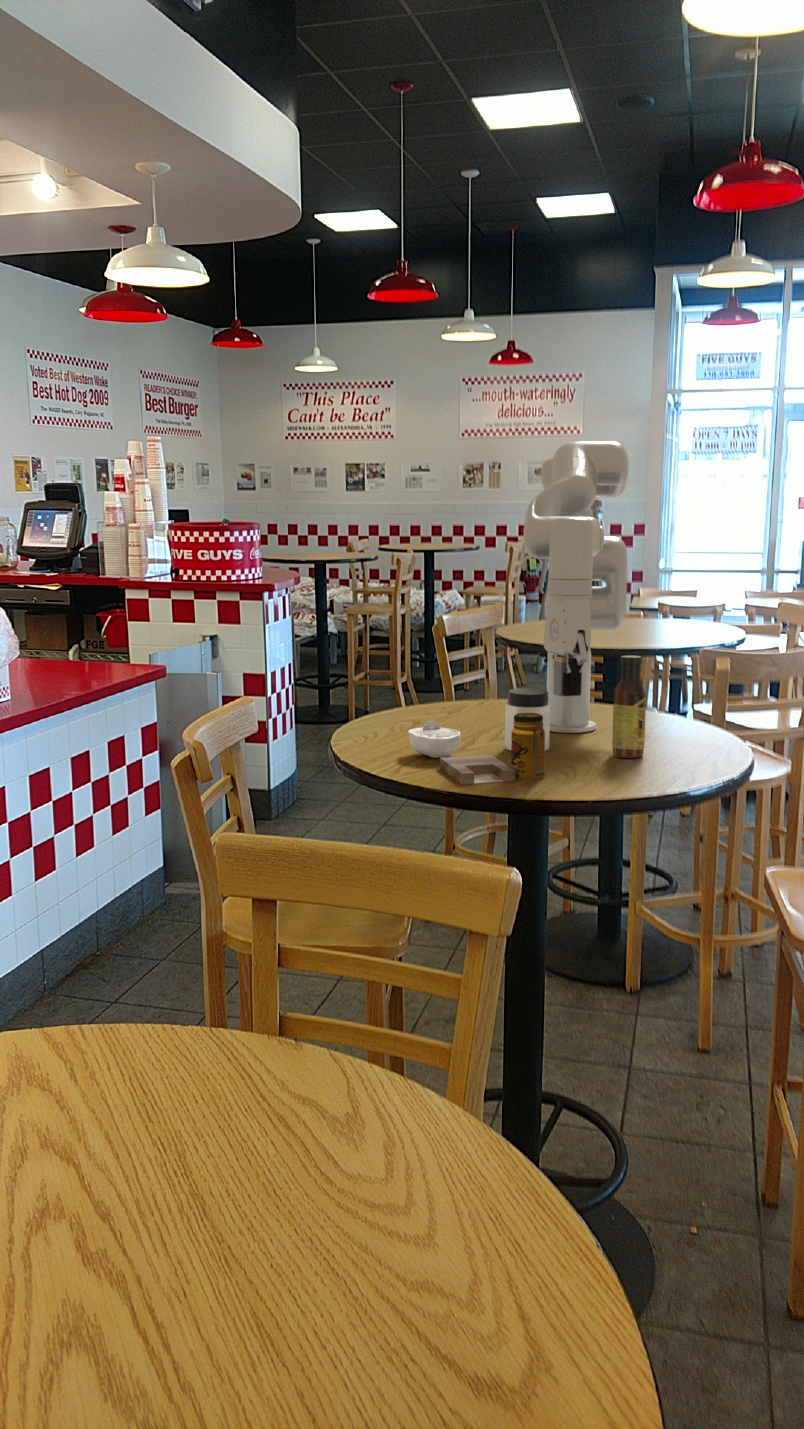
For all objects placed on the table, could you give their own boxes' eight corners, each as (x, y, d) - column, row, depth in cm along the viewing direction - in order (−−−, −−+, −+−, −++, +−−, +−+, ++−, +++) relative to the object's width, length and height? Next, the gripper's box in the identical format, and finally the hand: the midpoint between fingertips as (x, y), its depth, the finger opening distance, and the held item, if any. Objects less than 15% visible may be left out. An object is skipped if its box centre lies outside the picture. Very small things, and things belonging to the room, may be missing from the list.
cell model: (415, 764, 205) (415, 729, 203) (403, 751, 216) (403, 718, 215) (467, 762, 206) (467, 727, 205) (452, 749, 218) (452, 716, 217)
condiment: (501, 779, 194) (502, 715, 192) (526, 771, 201) (527, 708, 199) (535, 786, 190) (536, 719, 188) (560, 777, 196) (561, 713, 194)
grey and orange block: (553, 693, 190) (554, 655, 188) (573, 693, 191) (575, 655, 190) (560, 696, 187) (561, 657, 186) (581, 695, 188) (582, 657, 187)
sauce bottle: (644, 760, 208) (648, 659, 204) (611, 758, 209) (615, 658, 205) (643, 752, 214) (647, 654, 210) (611, 751, 215) (615, 653, 212)
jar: (556, 751, 215) (557, 693, 213) (521, 755, 212) (523, 696, 210) (531, 743, 223) (533, 686, 221) (498, 747, 220) (499, 689, 217)
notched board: (440, 768, 201) (440, 757, 201) (490, 764, 204) (490, 754, 204) (462, 784, 189) (462, 773, 189) (515, 780, 192) (515, 769, 191)
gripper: (531, 587, 192) (529, 688, 195) (570, 592, 177) (567, 701, 180) (569, 586, 194) (566, 686, 197) (611, 591, 179) (607, 699, 182)
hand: (567, 692), depth 189 cm, fingers closed on grey and orange block, 3 cm apart
